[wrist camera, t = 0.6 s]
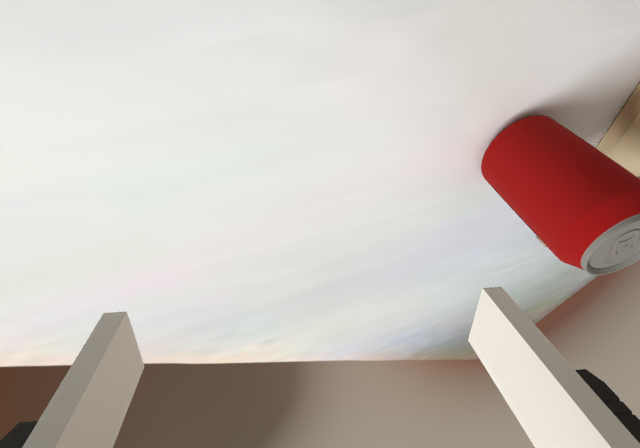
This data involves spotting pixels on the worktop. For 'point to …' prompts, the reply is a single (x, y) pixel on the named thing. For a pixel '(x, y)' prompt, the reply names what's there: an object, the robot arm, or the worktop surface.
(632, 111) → the wooden knob board
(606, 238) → the beverage can
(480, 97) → the worktop surface
